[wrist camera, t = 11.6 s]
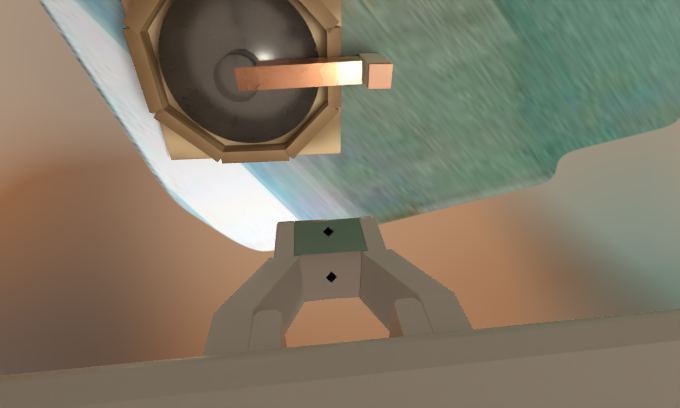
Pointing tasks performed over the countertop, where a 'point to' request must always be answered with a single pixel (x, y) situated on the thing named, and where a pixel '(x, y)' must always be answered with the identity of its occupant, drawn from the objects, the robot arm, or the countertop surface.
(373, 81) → the post
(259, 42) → the dial
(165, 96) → the dial housing
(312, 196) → the countertop surface
